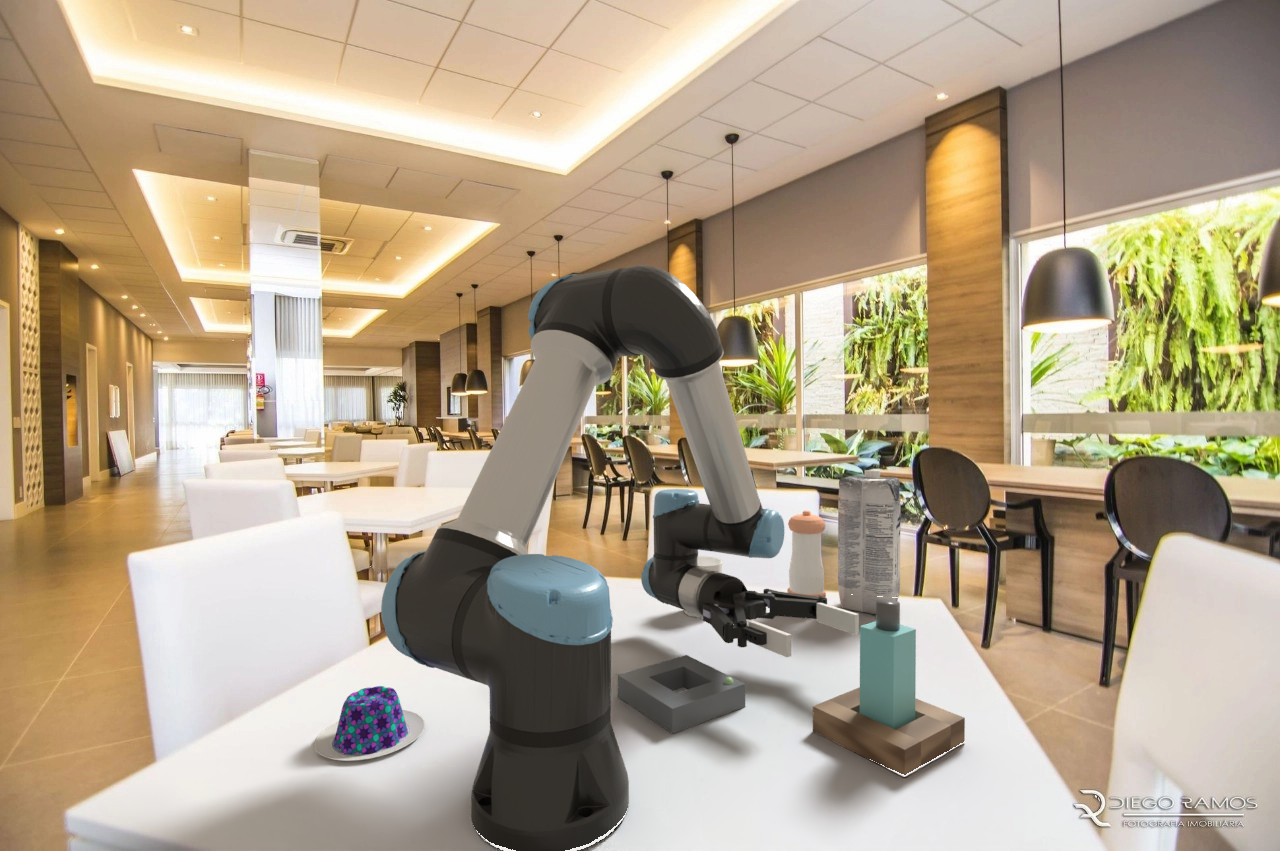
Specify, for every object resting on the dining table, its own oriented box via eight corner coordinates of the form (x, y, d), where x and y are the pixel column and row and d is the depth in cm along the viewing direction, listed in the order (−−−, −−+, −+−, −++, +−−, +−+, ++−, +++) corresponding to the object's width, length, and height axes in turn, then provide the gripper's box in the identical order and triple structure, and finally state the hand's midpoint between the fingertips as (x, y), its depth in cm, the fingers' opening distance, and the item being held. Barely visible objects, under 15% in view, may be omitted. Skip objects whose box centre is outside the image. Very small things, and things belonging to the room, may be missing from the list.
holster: (964, 743, 73) (964, 717, 73) (904, 778, 66) (904, 749, 66) (873, 704, 82) (873, 681, 82) (812, 731, 75) (812, 706, 75)
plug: (915, 739, 74) (915, 603, 73) (893, 751, 71) (893, 610, 71) (881, 724, 77) (882, 594, 77) (859, 735, 75) (860, 600, 74)
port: (745, 706, 82) (745, 678, 82) (672, 733, 75) (672, 702, 75) (686, 675, 92) (686, 650, 92) (617, 696, 85) (617, 669, 85)
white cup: (721, 606, 124) (721, 556, 124) (723, 619, 116) (723, 566, 116) (681, 605, 125) (681, 555, 125) (680, 618, 117) (680, 565, 117)
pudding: (356, 711, 81) (355, 671, 81) (442, 718, 79) (442, 677, 79) (290, 762, 70) (289, 715, 69) (389, 772, 68) (389, 723, 67)
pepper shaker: (830, 614, 119) (830, 513, 119) (791, 614, 120) (792, 513, 119) (820, 602, 127) (820, 508, 126) (783, 602, 127) (784, 507, 127)
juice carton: (889, 619, 116) (890, 473, 116) (834, 609, 123) (834, 470, 122) (902, 607, 123) (903, 470, 123) (849, 598, 130) (850, 467, 129)
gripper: (769, 605, 106) (881, 643, 89) (650, 636, 92) (756, 687, 74) (769, 561, 106) (881, 590, 89) (650, 584, 92) (756, 624, 74)
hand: (825, 634), depth 81 cm, fingers open, 13 cm apart
